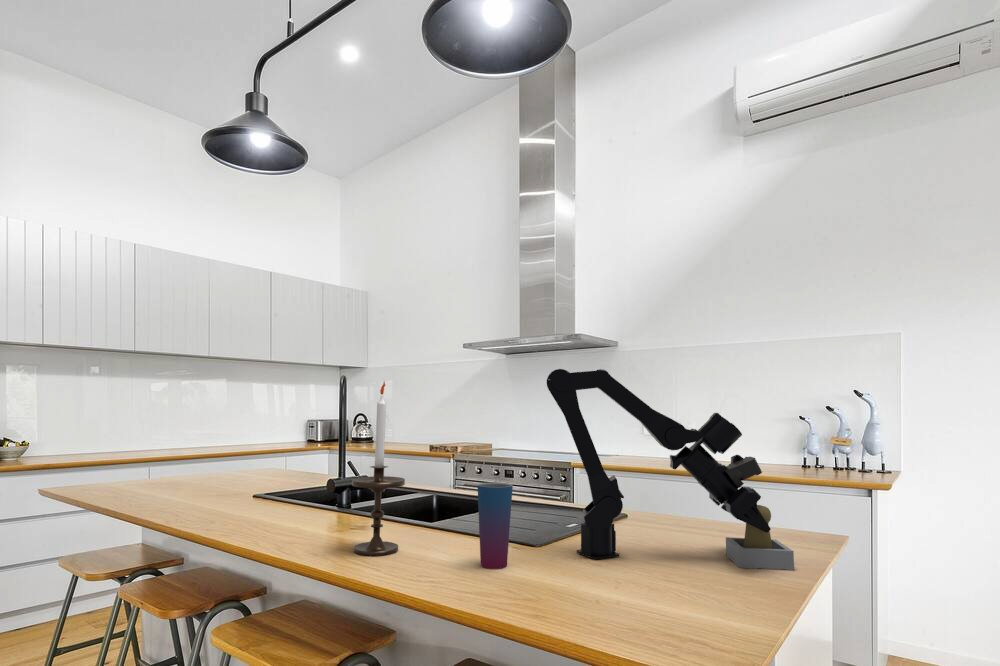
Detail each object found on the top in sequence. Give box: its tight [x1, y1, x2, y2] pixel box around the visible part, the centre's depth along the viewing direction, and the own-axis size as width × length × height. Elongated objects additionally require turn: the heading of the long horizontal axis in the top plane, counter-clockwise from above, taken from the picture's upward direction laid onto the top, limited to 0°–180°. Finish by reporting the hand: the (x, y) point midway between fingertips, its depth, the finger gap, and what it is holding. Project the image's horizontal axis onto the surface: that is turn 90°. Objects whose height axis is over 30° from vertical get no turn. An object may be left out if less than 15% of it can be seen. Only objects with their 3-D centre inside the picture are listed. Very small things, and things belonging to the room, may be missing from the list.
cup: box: [477, 481, 514, 570], centre depth 114 cm, size 7×7×15 cm
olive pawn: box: [744, 504, 773, 549], centre depth 119 cm, size 6×6×11 cm
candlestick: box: [351, 380, 406, 557], centre depth 125 cm, size 11×11×35 cm
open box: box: [725, 536, 795, 571], centre depth 119 cm, size 10×10×4 cm
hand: (764, 528), depth 119 cm, fingers closed on olive pawn, 5 cm apart
